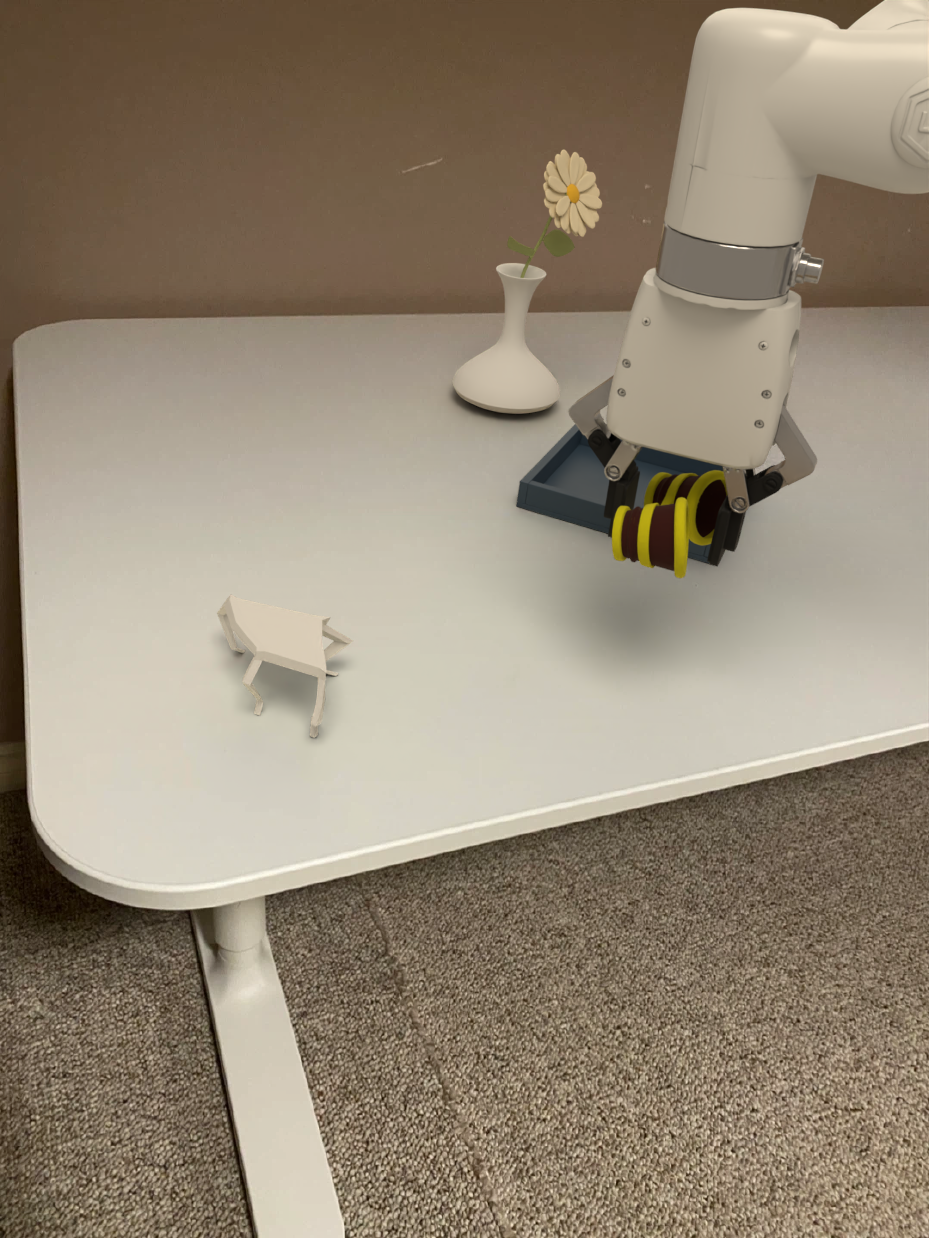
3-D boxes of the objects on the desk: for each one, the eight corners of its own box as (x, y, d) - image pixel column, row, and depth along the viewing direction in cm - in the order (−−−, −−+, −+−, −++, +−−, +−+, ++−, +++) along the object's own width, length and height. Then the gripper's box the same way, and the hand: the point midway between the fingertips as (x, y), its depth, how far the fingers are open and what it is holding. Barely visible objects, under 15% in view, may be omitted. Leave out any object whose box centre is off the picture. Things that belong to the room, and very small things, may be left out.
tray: (748, 492, 102) (755, 468, 101) (711, 564, 90) (718, 538, 89) (573, 444, 107) (577, 420, 106) (515, 506, 95) (519, 481, 94)
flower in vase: (478, 428, 108) (509, 163, 94) (433, 384, 116) (456, 134, 102) (590, 418, 113) (636, 165, 99) (540, 376, 121) (576, 137, 107)
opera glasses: (663, 521, 76) (663, 453, 73) (737, 531, 73) (739, 461, 71) (604, 579, 68) (601, 506, 66) (683, 592, 66) (683, 517, 64)
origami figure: (388, 686, 72) (392, 625, 69) (311, 754, 66) (313, 689, 63) (246, 622, 76) (245, 563, 74) (162, 679, 70) (158, 617, 67)
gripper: (890, 276, 61) (809, 552, 71) (599, 223, 66) (562, 488, 76) (875, 311, 55) (790, 607, 65) (557, 250, 60) (523, 533, 70)
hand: (667, 540), depth 70 cm, fingers closed on opera glasses, 5 cm apart
